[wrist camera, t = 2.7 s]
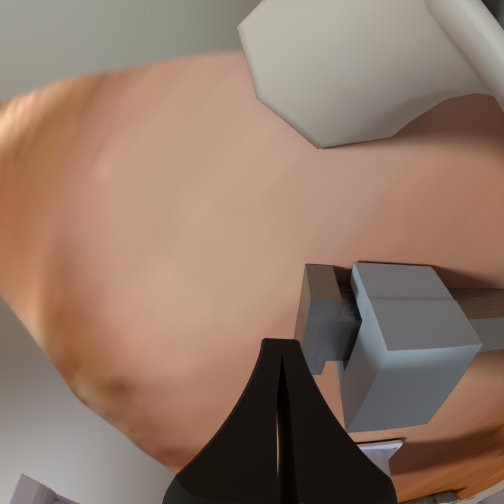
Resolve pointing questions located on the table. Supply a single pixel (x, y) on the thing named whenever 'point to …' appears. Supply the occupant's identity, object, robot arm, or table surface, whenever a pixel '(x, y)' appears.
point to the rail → (349, 318)
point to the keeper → (403, 348)
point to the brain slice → (436, 499)
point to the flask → (370, 61)
